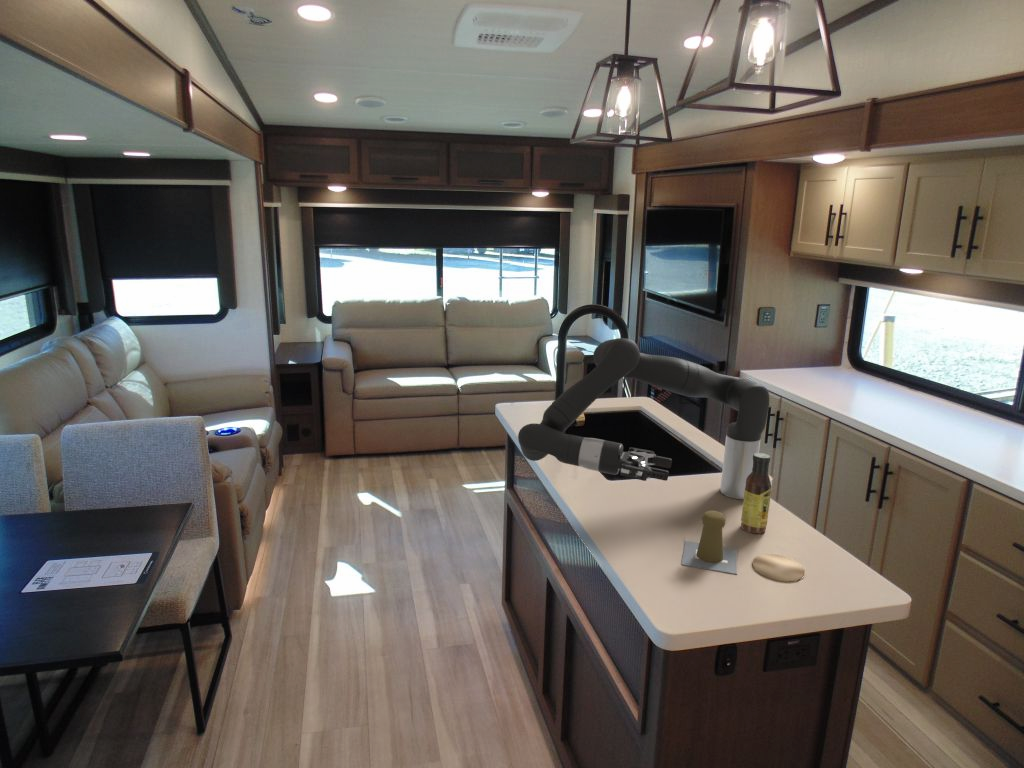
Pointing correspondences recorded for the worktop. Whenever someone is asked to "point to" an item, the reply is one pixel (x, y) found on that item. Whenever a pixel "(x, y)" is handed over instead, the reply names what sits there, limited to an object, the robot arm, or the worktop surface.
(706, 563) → the tile
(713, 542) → the pepper shaker
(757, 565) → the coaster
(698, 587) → the worktop surface
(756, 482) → the sauce bottle
